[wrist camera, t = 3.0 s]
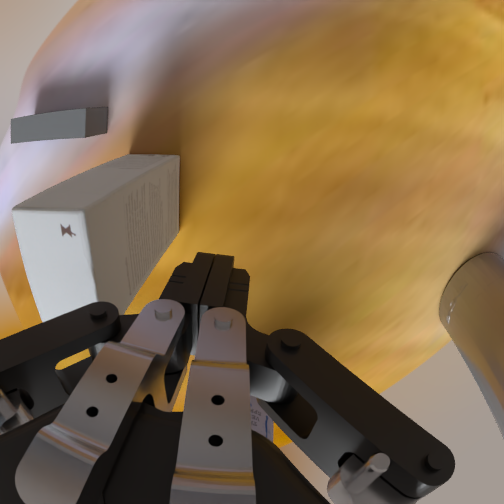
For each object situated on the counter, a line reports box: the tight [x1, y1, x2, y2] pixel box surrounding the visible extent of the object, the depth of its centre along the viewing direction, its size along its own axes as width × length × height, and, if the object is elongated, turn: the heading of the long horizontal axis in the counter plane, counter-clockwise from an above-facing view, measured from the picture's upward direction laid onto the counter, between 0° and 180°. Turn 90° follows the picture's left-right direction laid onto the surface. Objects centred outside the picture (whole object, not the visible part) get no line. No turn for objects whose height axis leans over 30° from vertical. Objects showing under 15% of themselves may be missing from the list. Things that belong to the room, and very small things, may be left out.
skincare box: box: [12, 154, 180, 322], centre depth 15 cm, size 6×4×12 cm
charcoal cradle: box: [11, 107, 108, 144], centre depth 19 cm, size 8×13×3 cm, turn 173°
